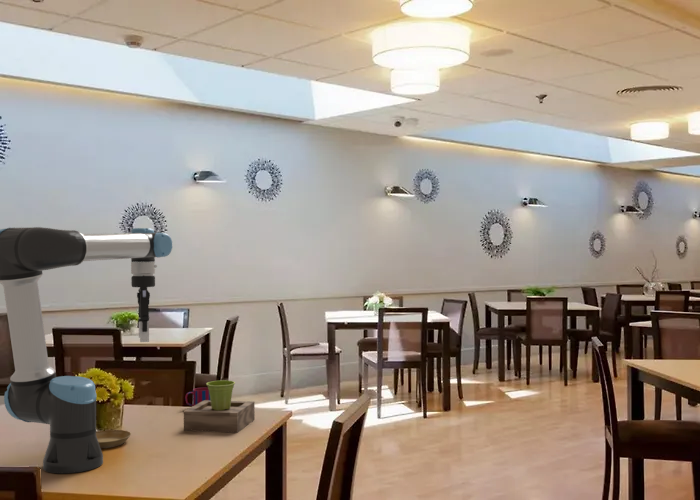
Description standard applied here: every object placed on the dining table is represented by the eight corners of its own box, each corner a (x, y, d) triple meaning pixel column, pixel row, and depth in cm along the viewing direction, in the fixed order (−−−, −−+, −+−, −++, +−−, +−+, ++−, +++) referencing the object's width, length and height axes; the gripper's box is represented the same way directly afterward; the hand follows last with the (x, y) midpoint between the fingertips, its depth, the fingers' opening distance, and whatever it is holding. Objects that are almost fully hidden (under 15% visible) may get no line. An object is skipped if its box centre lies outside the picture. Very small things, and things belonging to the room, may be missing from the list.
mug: (214, 408, 272) (214, 389, 272) (188, 411, 267) (188, 392, 267) (207, 404, 278) (207, 386, 278) (181, 408, 272) (181, 389, 272)
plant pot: (232, 411, 242) (232, 385, 242) (204, 412, 242) (203, 385, 242) (237, 405, 251) (237, 380, 251) (209, 406, 251) (209, 380, 251)
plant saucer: (115, 451, 214) (115, 442, 214) (69, 449, 216) (69, 440, 216) (139, 439, 228) (139, 430, 228) (95, 437, 231) (95, 428, 231)
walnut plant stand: (237, 432, 234) (237, 412, 234) (183, 430, 237) (183, 411, 238) (254, 419, 252) (254, 401, 252) (204, 418, 255) (204, 400, 255)
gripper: (157, 275, 233) (157, 343, 232) (153, 273, 256) (153, 335, 256) (132, 276, 230) (132, 344, 230) (130, 274, 254) (131, 335, 254)
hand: (143, 339), depth 243 cm, fingers open, 13 cm apart
